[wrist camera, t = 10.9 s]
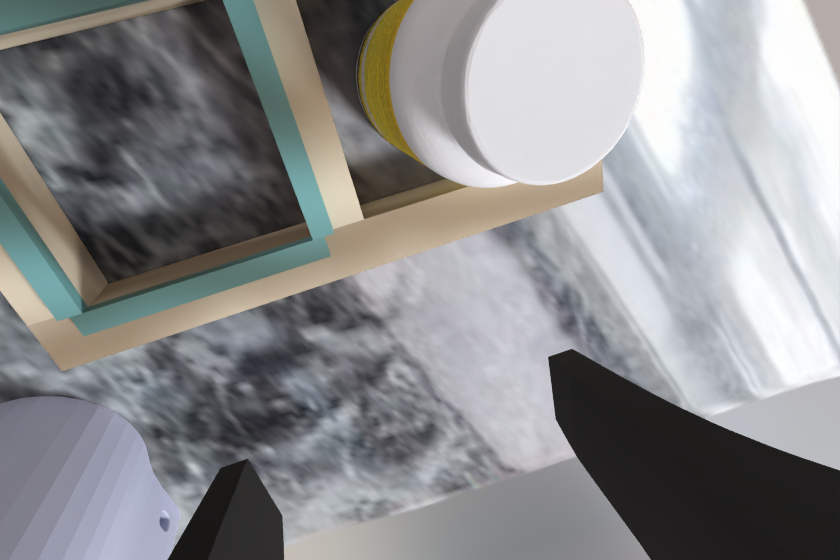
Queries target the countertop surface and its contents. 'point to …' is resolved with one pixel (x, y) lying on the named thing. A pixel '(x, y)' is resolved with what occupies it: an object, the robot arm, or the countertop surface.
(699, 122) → the countertop surface
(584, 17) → the supplement bottle
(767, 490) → the robot arm
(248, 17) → the panel
